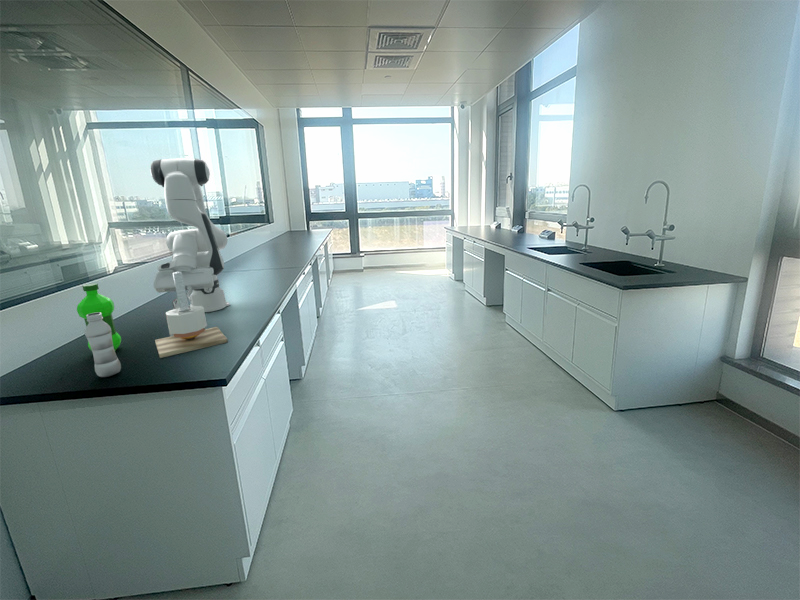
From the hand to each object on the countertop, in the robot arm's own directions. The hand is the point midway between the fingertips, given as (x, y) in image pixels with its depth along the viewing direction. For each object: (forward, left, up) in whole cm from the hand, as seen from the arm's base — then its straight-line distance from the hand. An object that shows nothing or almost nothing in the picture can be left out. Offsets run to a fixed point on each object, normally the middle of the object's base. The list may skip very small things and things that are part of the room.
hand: (184, 298), depth 147 cm
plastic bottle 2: (+18, -26, -16) cm, 36 cm away
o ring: (+4, -1, -12) cm, 13 cm away
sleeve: (+4, -1, -10) cm, 11 cm away
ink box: (-10, -4, -16) cm, 20 cm away
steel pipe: (+4, -1, -15) cm, 15 cm away
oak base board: (+4, -1, -16) cm, 17 cm away
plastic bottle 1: (-8, -27, -16) cm, 32 cm away
